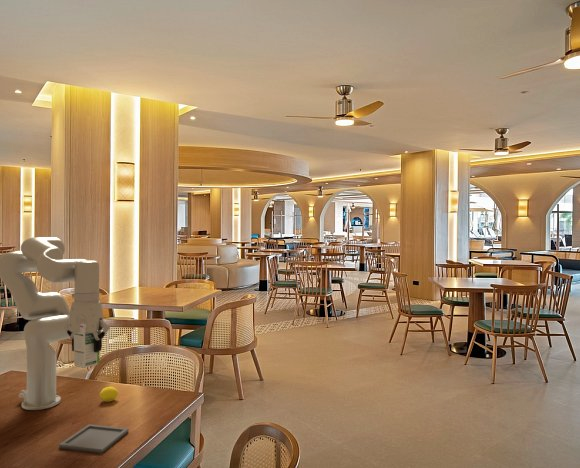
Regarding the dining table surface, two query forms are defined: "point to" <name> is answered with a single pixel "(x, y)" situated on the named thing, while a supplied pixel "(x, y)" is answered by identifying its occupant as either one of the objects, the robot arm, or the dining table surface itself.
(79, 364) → the syrup box
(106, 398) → the lemon
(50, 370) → the robot arm
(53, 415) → the dining table surface
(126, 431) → the slate tray
